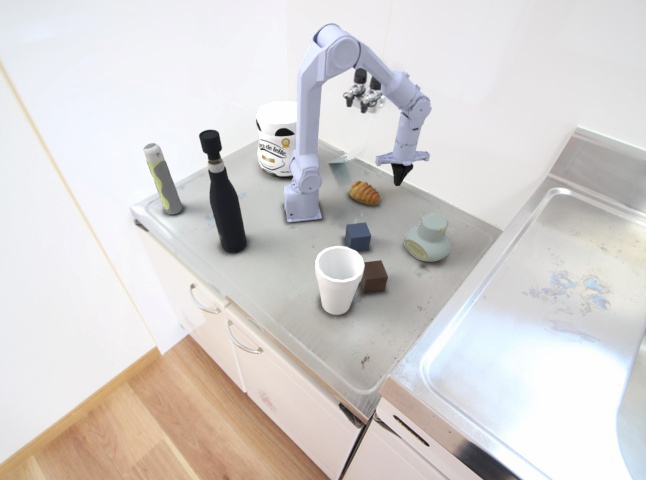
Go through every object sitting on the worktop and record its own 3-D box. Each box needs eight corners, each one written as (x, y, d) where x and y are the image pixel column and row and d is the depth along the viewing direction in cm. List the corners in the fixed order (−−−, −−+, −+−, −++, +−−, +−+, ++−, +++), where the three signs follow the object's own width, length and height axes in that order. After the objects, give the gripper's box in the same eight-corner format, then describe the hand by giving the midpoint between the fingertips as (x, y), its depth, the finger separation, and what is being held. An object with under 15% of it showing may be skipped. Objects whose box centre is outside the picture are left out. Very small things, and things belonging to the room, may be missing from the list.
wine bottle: (251, 239, 89) (231, 128, 67) (240, 255, 85) (215, 144, 63) (229, 233, 91) (202, 124, 68) (217, 250, 87) (185, 139, 64)
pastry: (385, 200, 99) (387, 189, 96) (371, 210, 96) (372, 199, 93) (360, 186, 104) (361, 176, 101) (345, 196, 101) (346, 185, 98)
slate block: (349, 252, 85) (351, 238, 82) (344, 238, 89) (346, 224, 85) (368, 250, 86) (371, 235, 82) (363, 236, 89) (366, 222, 85)
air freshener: (396, 245, 87) (404, 215, 79) (418, 232, 90) (428, 202, 82) (430, 272, 80) (442, 241, 73) (453, 256, 84) (466, 226, 76)
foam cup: (312, 287, 78) (313, 247, 68) (352, 284, 78) (358, 244, 69) (317, 323, 72) (318, 284, 62) (361, 319, 72) (368, 280, 62)
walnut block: (363, 293, 77) (365, 279, 73) (357, 276, 80) (359, 262, 76) (384, 291, 77) (388, 276, 73) (378, 274, 80) (381, 260, 77)
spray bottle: (173, 217, 96) (148, 152, 81) (162, 211, 97) (135, 147, 83) (186, 208, 98) (164, 143, 83) (175, 202, 100) (151, 138, 85)
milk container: (257, 182, 106) (249, 126, 93) (261, 153, 118) (254, 100, 105) (312, 181, 106) (313, 125, 93) (311, 152, 118) (311, 98, 104)
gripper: (384, 150, 85) (376, 194, 95) (439, 145, 86) (426, 189, 97) (376, 136, 90) (369, 180, 100) (428, 132, 91) (417, 175, 101)
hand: (396, 184), depth 99 cm, fingers closed
